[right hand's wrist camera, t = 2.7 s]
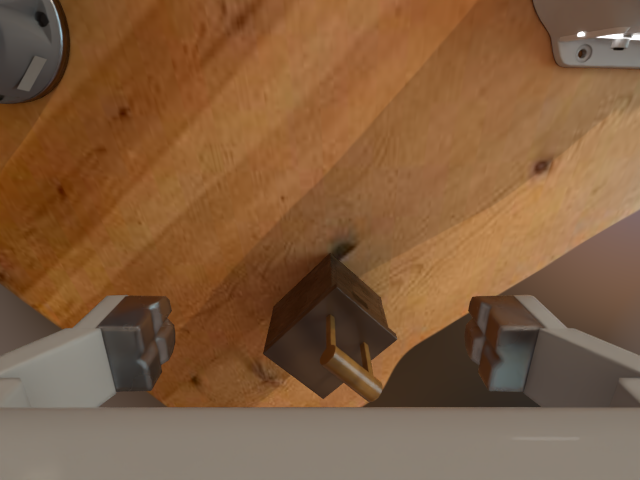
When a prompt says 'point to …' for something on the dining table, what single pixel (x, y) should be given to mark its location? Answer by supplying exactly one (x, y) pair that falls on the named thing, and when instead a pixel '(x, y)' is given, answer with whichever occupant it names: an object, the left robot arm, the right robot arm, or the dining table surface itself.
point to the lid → (333, 345)
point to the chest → (314, 288)
